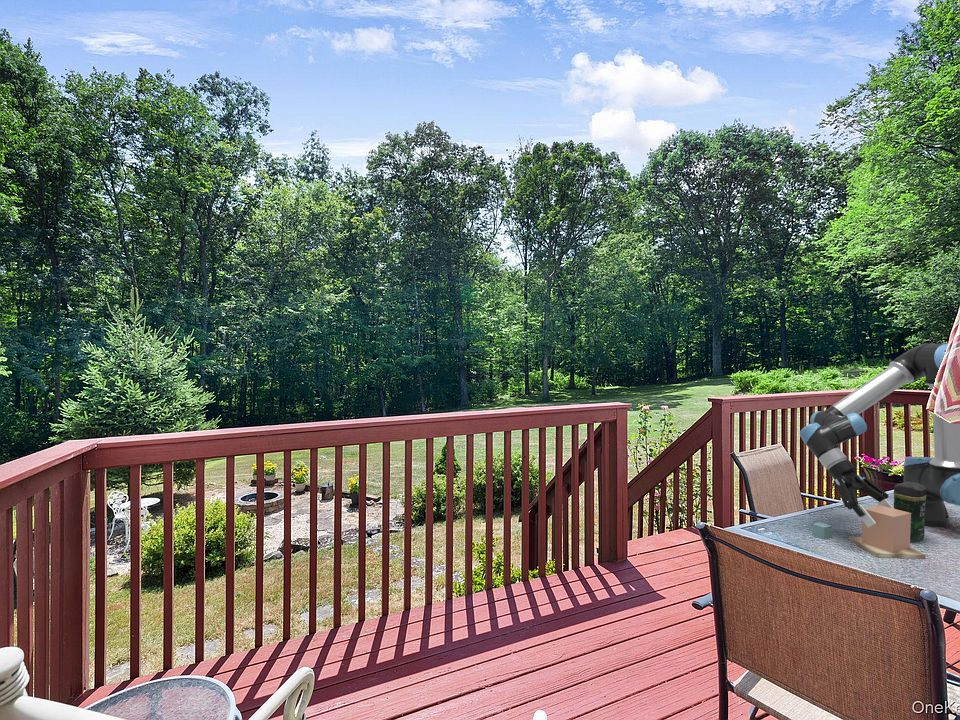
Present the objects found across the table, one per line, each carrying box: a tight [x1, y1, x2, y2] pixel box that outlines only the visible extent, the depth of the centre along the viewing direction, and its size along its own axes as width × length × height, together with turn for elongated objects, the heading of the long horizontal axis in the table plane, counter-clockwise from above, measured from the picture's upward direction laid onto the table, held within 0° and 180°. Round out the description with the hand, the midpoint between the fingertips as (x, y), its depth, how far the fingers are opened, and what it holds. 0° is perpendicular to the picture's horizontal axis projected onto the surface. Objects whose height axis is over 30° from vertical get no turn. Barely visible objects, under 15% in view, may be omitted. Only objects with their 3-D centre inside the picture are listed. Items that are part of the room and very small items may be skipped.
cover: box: [861, 504, 911, 553], centre depth 172 cm, size 9×9×11 cm
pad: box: [848, 536, 926, 560], centre depth 172 cm, size 14×14×1 cm
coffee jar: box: [893, 481, 926, 543], centre depth 182 cm, size 10×8×19 cm
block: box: [811, 521, 833, 540], centre depth 183 cm, size 4×4×4 cm
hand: (885, 522), depth 172 cm, fingers open, 13 cm apart
